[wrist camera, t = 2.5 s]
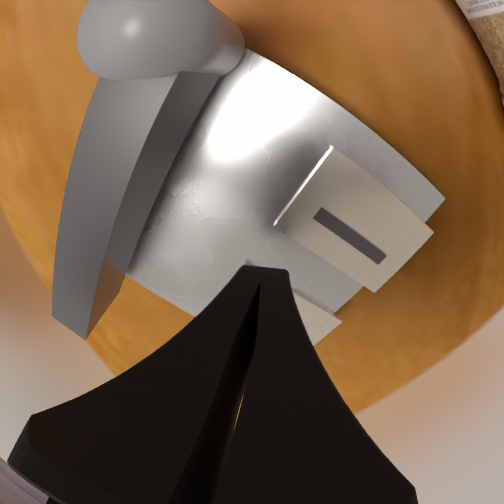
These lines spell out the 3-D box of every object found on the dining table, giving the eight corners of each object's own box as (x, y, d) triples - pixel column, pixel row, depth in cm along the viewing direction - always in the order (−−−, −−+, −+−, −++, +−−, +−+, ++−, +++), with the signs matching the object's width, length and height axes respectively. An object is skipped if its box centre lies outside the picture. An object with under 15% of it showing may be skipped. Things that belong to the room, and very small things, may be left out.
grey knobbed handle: (258, 33, 7) (214, -16, 3) (125, 290, 13) (74, 365, 9) (197, 6, 7) (112, -41, 3) (89, 266, 13) (31, 334, 9)
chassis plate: (442, 196, 10) (455, 209, 9) (287, 349, 16) (286, 367, 15) (171, 16, 8) (156, 9, 7) (85, 231, 14) (71, 243, 12)
